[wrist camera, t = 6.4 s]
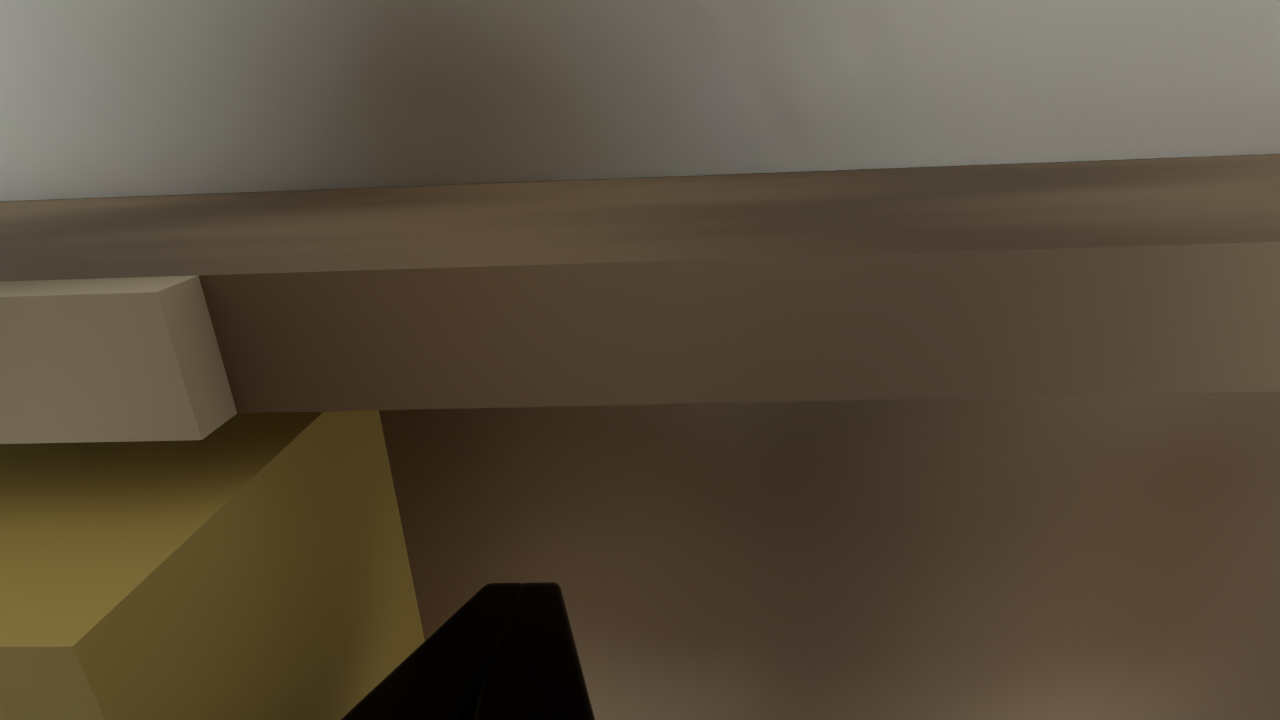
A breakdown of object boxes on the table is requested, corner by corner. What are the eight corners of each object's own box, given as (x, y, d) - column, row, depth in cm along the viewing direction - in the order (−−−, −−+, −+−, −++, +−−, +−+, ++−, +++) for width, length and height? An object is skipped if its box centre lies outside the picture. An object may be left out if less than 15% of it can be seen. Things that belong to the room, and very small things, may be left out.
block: (370, 368, 7) (74, 646, 4) (439, 710, 9) (285, 1128, 6) (-67, 378, 8) (-756, 650, 4) (84, 711, 10) (-292, 1109, 6)
